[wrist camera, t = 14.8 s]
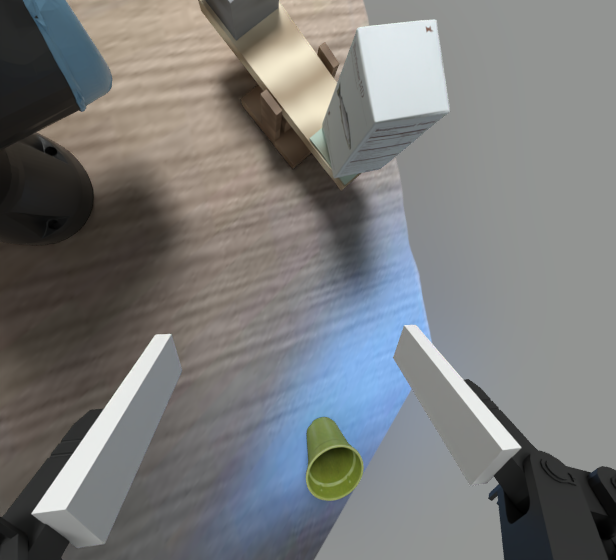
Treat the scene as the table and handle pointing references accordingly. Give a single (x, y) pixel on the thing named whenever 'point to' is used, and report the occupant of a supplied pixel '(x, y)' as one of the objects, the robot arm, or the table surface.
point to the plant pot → (331, 461)
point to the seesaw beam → (280, 66)
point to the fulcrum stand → (274, 122)
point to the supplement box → (385, 95)
